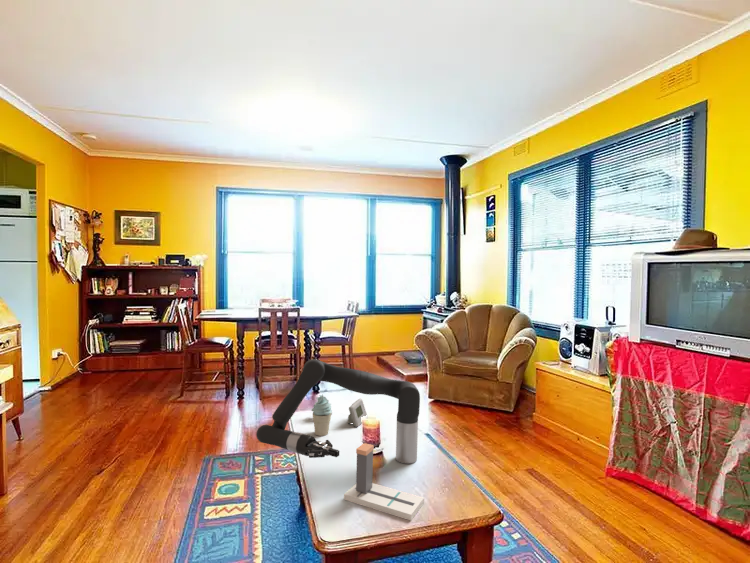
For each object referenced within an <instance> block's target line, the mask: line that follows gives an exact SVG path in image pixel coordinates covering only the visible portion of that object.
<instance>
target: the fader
mask: <svg viewBox="0 0 750 563" xmlns="http://www.w3.org/2000/svg"><path fill="white" fill-rule="evenodd" d="M374 447H375V445H374V444H371V443H370V444H369V443H366V442H364V443H362V444H361V445H360V446H358V447H357V448H356V450H355V451H356V452H355V453H356V472H355V473H356V481H355V482H356V483H355V484H356V491H359V492H362V493H365V494H366V493H367V492H368V491H369V490H370V489H371V488H372V483H373V469H374V468H373V466H374V450H375V448H374Z"/></svg>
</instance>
